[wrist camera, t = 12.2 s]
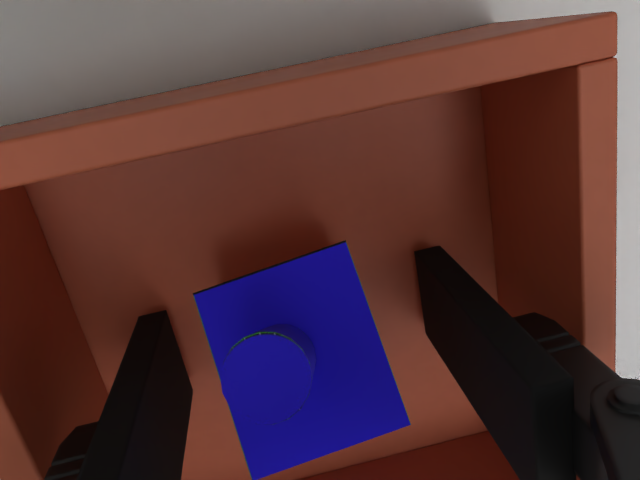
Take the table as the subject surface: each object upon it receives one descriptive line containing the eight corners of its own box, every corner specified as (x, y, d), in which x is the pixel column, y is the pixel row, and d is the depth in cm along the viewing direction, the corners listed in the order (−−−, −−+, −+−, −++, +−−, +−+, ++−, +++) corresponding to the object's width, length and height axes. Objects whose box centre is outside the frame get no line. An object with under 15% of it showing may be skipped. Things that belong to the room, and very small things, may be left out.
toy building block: (340, 258, 17) (350, 221, 9) (385, 387, 17) (438, 466, 9) (233, 295, 17) (150, 291, 9) (276, 426, 17) (228, 542, 9)
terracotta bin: (-23, 131, 13) (-164, 176, 9) (496, 22, 14) (619, 9, 10) (143, 526, 18) (110, 691, 14) (523, 427, 19) (615, 551, 14)
